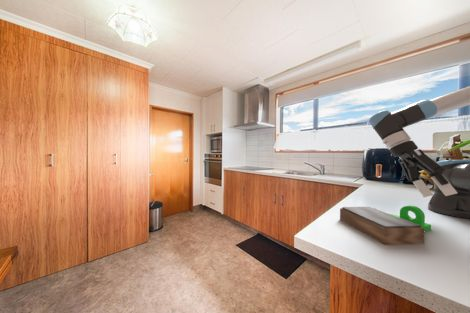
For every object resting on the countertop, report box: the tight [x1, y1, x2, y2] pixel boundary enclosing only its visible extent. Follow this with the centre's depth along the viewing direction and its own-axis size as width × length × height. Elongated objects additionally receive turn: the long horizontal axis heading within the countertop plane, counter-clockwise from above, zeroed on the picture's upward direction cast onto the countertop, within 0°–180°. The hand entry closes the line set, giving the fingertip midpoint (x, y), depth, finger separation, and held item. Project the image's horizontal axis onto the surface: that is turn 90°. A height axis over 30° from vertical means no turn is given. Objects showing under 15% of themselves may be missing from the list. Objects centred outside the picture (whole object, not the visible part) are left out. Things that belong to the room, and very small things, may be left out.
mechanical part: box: [390, 205, 432, 232], centre depth 60 cm, size 12×6×8 cm, turn 20°
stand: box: [339, 206, 425, 246], centre depth 55 cm, size 12×18×5 cm, turn 4°
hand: (438, 195), depth 58 cm, fingers open, 13 cm apart
